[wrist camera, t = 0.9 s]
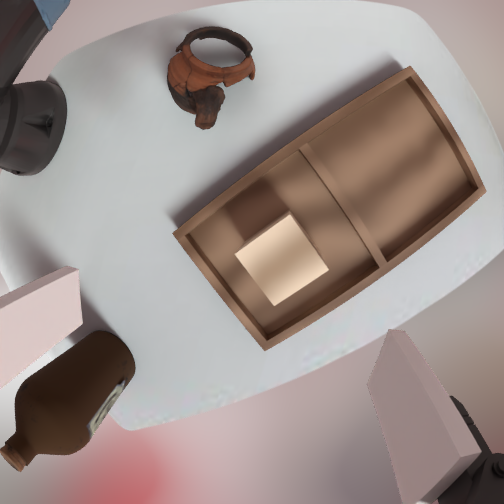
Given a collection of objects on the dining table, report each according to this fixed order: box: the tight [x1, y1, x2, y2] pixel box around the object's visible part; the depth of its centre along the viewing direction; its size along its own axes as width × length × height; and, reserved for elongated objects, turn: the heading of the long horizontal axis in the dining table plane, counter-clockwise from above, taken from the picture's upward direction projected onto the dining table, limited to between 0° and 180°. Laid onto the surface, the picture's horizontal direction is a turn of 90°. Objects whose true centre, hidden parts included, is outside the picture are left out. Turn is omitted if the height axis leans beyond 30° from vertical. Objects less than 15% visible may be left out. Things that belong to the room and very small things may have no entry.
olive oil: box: [0, 331, 135, 472], centre depth 27 cm, size 11×11×25 cm
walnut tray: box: [172, 66, 487, 351], centre depth 29 cm, size 17×33×2 cm, turn 127°
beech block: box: [235, 209, 329, 306], centre depth 29 cm, size 6×6×6 cm
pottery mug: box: [167, 26, 255, 130], centre depth 27 cm, size 12×10×8 cm
